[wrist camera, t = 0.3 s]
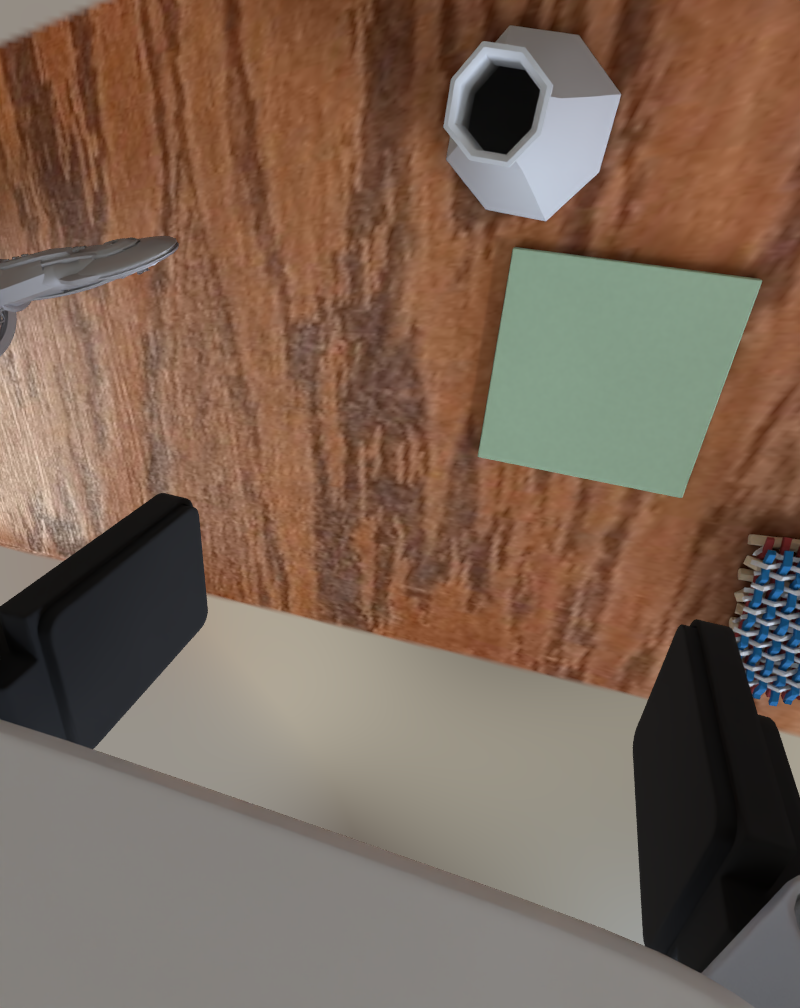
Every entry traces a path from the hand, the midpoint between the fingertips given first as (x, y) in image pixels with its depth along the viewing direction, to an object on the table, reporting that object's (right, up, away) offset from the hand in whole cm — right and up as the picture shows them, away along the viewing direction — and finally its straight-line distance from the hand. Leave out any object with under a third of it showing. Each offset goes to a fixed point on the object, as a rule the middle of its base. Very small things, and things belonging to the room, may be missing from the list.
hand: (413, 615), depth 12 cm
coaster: (+10, +9, +19) cm, 23 cm away
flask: (+6, +19, +15) cm, 25 cm away
